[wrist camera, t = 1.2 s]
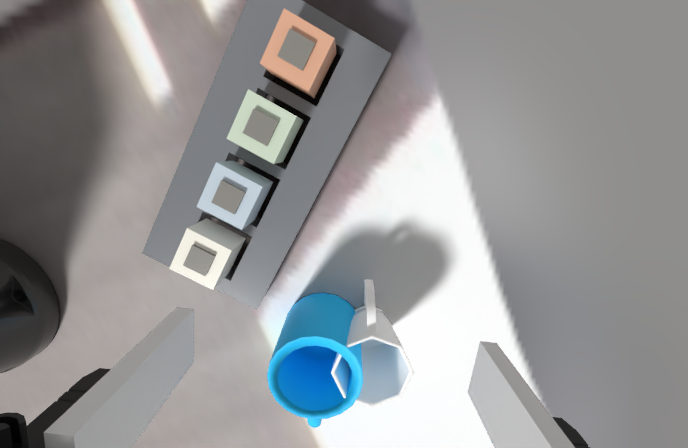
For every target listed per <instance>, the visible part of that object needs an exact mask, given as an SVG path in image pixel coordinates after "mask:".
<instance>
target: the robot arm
mask: <svg viewBox="0 0 688 448" xmlns="http://www.w3.org/2000/svg"><path fill="white" fill-rule="evenodd" d="M58 324H59V305H58V300H57V297H56V294H55V291H54V289H53V286H52V284H51V283H50V281H49V279H48V278H47V276H46V275H45V273H44V272H43V271H42V269H41V268H40V267H39V266H38V265H37V264H36V263H35V262H34V261H33V260H32V259H31V258H30V257H29V256H28V255H26V254H25V253H24V252H22V251H21V250H19V249H18V248H16V247H15V246H13V245H11V244H9V243H7V242H5V241H2V240H0V373H3V372H6V371H9V370H12V369H14V368H16V367H18V366H20V365H22V364H23V363H25V362H26V361H28V360H29V359H31V358H32V357H34V356H35V355H37V354H38V353H40V352H41V351H43V350H44V349H45V348H46V347H47V346H48V345H49V344H50V342H51V341H52V339H53V338H54V336H55V334H56V331H57V328H58ZM193 362H194V309H189V308H180V307H177V308H176V309H175V310H174V311H173V312H172V313H170V314H169V315H168V316H167V317H166V318H165V319H164V320H163V321H162V322H161V323H160V324H159V325H158V326H157V327H156V328H154V329H153V330H152V331H151V332H150V333H149V334H148V335H147V336H146V337H145V338H144V339H143V340H142V341H141V342H140V343H138V344H137V345H136V346H135V347H134V348H133V349H132V350H131V351H130V352H129V353H128V354H127V355H126V356H125V357H124V358H122V359H121V360H120V361H119V362H118V363H117V364H116V365H115V366H114V367H113V368H112V369H102V368H99V369H98V370H96V371H94V372H92V373H90V374H88V375H87V376H85V377H83V378H82V379H80V380H79V381H78V382H77V383H76V384H75V385H74V386H72V387H71V388H70V389H69V391H68V392H65V393H64V394H63V395H62V396H61V397H60V398H59V399H58V401H57V402H56V401H55V402H54V403H53V404H52V405H51V406H49V407H48V408H47V409H46V410H45V411H44V412H42V413H41V414H40V415H39V416H38V417H37V418H36V419H34V420H33V421H32V422H31V423H30V424H29V425H28V426H26V421H25V418H24V416H23V415H21V414H19V413H3V414H0V448H132V447H133V445H134V444H135V443H136V441H137V440H138V438H139V437H140V436H141V434H142V433H143V431H144V430H145V429H146V427H147V426H148V424H149V423H150V422H151V420H152V419H153V418H154V416H155V415H156V413H157V412H158V411H159V409H160V408H161V406H162V405H163V404H164V402H165V401H166V399H167V398H168V397H169V395H170V394H171V393H172V391H173V390H174V388H175V387H176V386H177V384H178V383H179V381H180V380H181V379H182V377H183V376H184V374H185V373H186V372H187V370H188V369H189V367H190V366H191V365H192V363H193ZM468 394H469V396H470V398H471V400H472V402H473V404H474V406H475V408H476V410H477V412H478V414H479V416H480V418H481V420H482V423H483V425H484V427H485V429H486V431H487V433H488V435H489V437H490V439H491V441H492V443H493V445H494V447H495V448H590V447H588V444H587V443H586V442H585V441H584V439H583V438H582V437H581V435H580V434H579V433H578V432H577V431H576V430H575V429H574V428H572V426H570V425H569V424H568V423H567V422H566V421H564V420H563V419H562V418H555V417H552V416H551V415H550V414H549V412H548V411H547V410H546V408H545V407H544V406H543V404H542V403H541V402H540V400H539V399H538V398H537V396H536V395H535V394H534V392H533V391H532V390H531V388H530V387H529V386H528V384H527V383H526V382H525V380H524V379H523V378H522V376H521V375H520V374H519V372H518V371H517V370H516V368H515V367H514V366H513V364H512V363H511V362H510V360H509V359H508V358H507V356H506V355H505V354H504V352H503V351H502V350H501V348H500V347H499V346H498V344H497V343H490V342H481V341H480V344H479V348H478V352H477V356H476V360H475V365H474V369H473V373H472V377H471V381H470V385H469V389H468Z"/></svg>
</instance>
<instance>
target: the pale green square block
mask: <svg viewBox="0 0 688 448" xmlns="http://www.w3.org/2000/svg"><path fill="white" fill-rule="evenodd" d="M303 121H304V120H302V119H301V118H299V117H297V116H295V115H293V114H292V113H290V112H288V111H286V110H285V109H283V108H281V107H279V106H277V105H276V104H274V103H272V102H270V101H268V100H267V99H265V98H263V97H261V96H260V95H258V94H256V93H254V92H252V91H251V90H249V89H248V91H247V93H246V95H245V98H244V100H243V102H242V104H241V107H240V109H239V111H238V113H237V116H236V118H235V120H234V123H233V125H232V127H231V129H230V132H229V134H228V136H227V138H226V139H228V140H230V141H232V142H234V143H235V144H237V145H239V146H241V147H243V148H245V149H247V150H248V151H250V152H252V153H254V154H256V155H258V156H260V157H261V158H263V159H265V160H267V161H269V162H271V163H273V164H276V163H281V162H283V161H284V159H285V157H286V155H287V153H288V151H289V149H290V147H291V145H292V143H293V141H294V139H295V137H296V135H297V133H298V131H299V129H300V127H301V125H302V123H303Z"/></svg>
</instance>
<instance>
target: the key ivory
mask: <svg viewBox="0 0 688 448" xmlns="http://www.w3.org/2000/svg"><path fill="white" fill-rule="evenodd" d="M245 239H246V238H244V237H242V236H240V235H238V234H236V233H234V232H232V231H230V230H228V229H226V228H225V227H223V226H221V225H219V224H217V223H215V222H213V221H211V220H209V219H207V218H206V219H204V220H202V221H200V222H198V223H196V224H194V225H192V226H190V227H188V228H187V229H186V231H185V234H184V236H183V238H182V241H181V243H180V245H179V247H178V250H177V252H176V254H175V256H174V259H173V261H172V263H171V266H170V268H169V269H171V270H173V271H175V272H177V273H179V274H181V275H183V276H185V277H187V278H189V279H191V280H193V281H196V282H198V283H200V284H202V285H204V286H206V287H208V288H210V289H212V290H213V289H214V288H215V287H216V286H217V285H218V284H219V283H220V282H221V281H222V280H223V279H224V278H225V277H226V276H227V275H228V274H229V272H230V270H231V268H232V266H233V264H234V262H235V259H236V257H237V255H238V253H239V251H240V249H241V247H242V245H243V243H244V241H245Z"/></svg>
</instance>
